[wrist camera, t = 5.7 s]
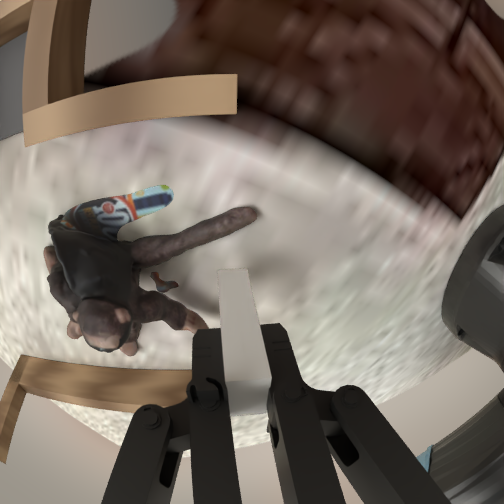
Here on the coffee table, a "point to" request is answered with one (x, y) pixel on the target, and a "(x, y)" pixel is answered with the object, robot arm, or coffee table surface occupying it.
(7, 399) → the wooden rail pieces
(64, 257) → the stuffed animal
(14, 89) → the mat
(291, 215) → the coffee table surface
